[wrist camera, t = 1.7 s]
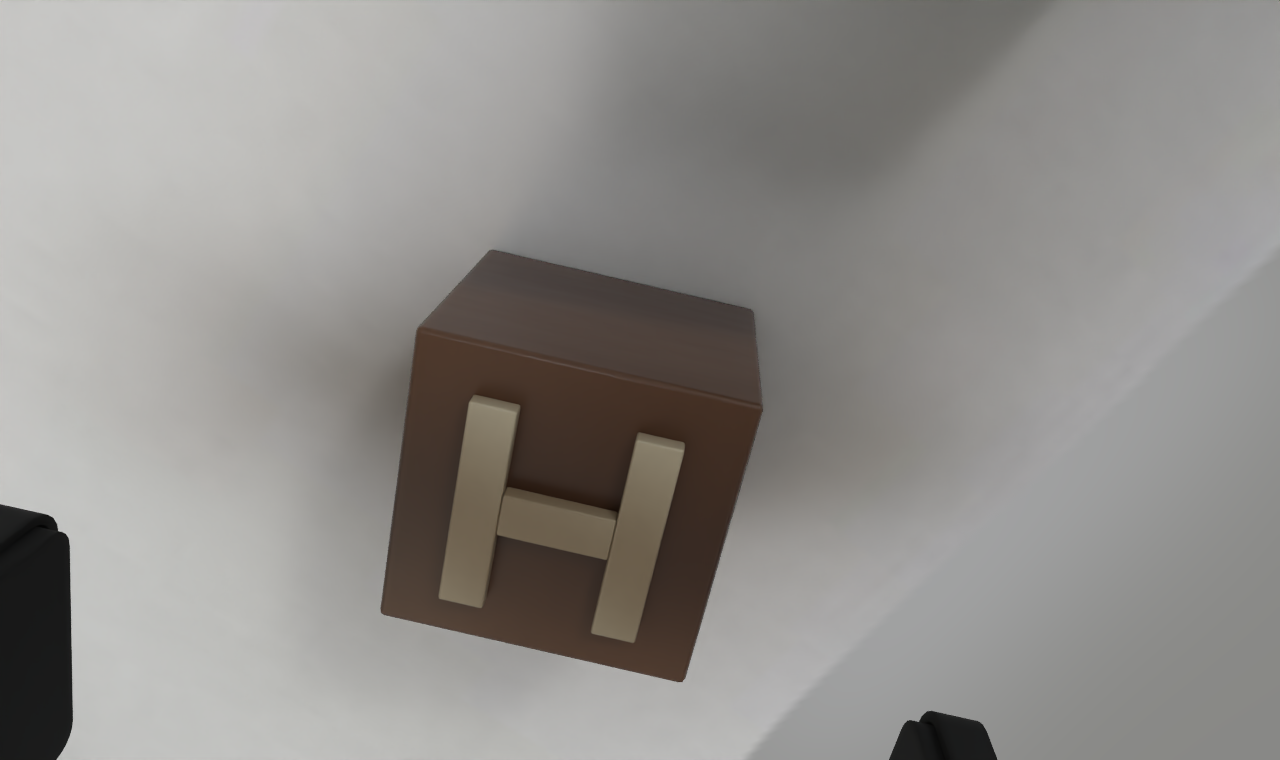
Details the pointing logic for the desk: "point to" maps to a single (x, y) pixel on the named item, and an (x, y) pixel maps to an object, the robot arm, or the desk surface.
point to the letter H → (571, 463)
